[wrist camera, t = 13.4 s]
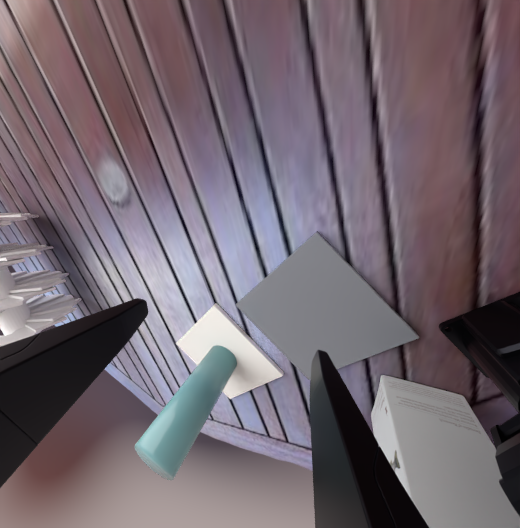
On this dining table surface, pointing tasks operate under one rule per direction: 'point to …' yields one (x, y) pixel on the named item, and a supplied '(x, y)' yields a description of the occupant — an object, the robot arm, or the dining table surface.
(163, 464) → the teal cylinder
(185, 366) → the dining table surface
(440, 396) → the supplement box
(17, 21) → the dining table surface
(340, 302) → the slate tile
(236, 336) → the pale tile
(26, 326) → the spiral staircase
